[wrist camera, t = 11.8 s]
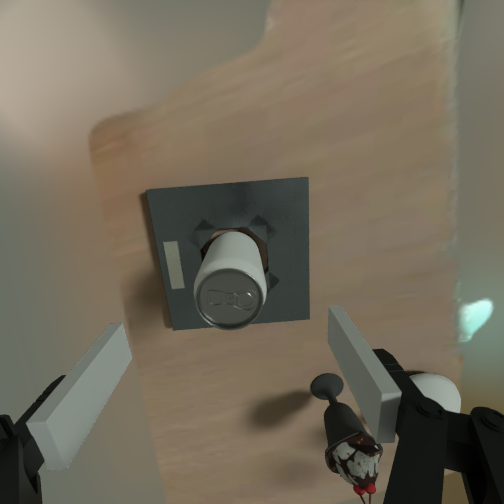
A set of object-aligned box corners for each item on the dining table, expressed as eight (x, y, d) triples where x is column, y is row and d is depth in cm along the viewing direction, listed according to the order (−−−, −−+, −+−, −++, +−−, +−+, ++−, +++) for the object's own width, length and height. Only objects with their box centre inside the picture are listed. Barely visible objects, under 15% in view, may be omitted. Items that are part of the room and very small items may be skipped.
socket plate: (150, 189, 30) (145, 190, 28) (305, 177, 30) (308, 177, 28) (175, 324, 35) (172, 331, 33) (306, 313, 35) (310, 320, 33)
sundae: (320, 410, 40) (362, 540, 26) (297, 383, 39) (328, 507, 24) (356, 389, 39) (421, 513, 25) (334, 361, 38) (390, 476, 23)
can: (257, 280, 33) (265, 336, 22) (207, 277, 33) (189, 333, 22) (261, 232, 32) (272, 265, 20) (208, 228, 31) (189, 261, 20)
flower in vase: (366, 385, 39) (557, 716, 15) (438, 353, 38) (768, 662, 14) (394, 439, 43) (585, 774, 19) (460, 411, 41) (755, 736, 18)
